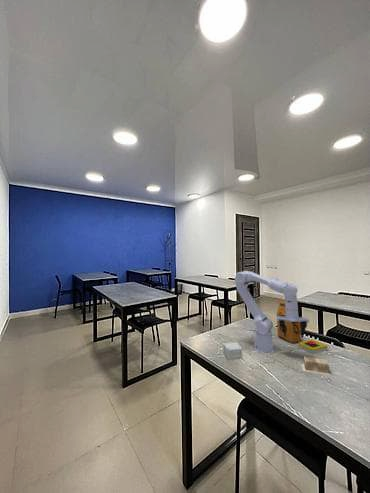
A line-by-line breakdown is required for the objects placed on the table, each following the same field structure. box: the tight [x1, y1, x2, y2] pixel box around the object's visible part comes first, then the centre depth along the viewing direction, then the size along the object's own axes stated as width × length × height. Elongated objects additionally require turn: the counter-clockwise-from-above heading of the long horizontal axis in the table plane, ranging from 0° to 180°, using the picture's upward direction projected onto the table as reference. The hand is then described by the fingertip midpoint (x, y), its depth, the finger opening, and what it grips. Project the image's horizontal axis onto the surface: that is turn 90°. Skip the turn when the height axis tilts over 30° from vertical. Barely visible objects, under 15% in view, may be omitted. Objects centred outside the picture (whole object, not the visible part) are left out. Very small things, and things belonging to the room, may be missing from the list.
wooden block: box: [303, 356, 330, 374], centre depth 95 cm, size 4×4×9 cm
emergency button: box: [296, 339, 331, 355], centre depth 114 cm, size 9×4×15 cm
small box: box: [222, 341, 243, 360], centre depth 111 cm, size 8×8×5 cm
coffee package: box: [276, 300, 302, 344], centre depth 128 cm, size 10×12×22 cm
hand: (293, 336), depth 107 cm, fingers open, 7 cm apart
